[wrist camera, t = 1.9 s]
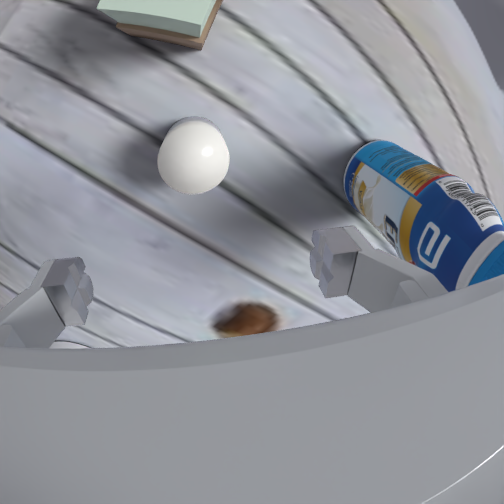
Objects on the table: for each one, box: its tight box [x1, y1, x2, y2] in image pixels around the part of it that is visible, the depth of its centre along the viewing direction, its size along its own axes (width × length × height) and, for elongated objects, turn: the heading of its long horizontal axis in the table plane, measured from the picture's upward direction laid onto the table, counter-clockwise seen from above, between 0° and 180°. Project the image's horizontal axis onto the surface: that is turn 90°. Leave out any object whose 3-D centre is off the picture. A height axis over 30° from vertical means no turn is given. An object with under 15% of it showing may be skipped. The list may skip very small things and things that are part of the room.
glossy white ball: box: [157, 116, 229, 194], centre depth 21 cm, size 5×5×5 cm
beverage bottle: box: [344, 140, 504, 292], centre depth 20 cm, size 8×8×20 cm
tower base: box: [116, 0, 223, 50], centre depth 14 cm, size 6×6×5 cm
